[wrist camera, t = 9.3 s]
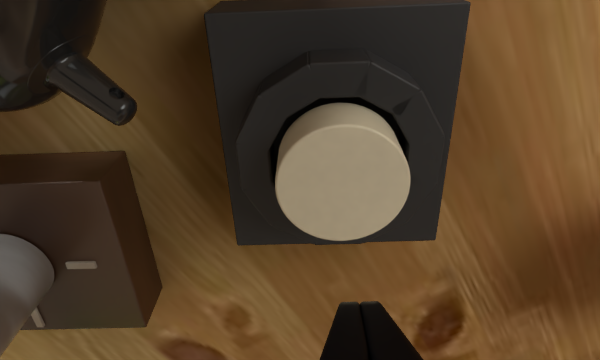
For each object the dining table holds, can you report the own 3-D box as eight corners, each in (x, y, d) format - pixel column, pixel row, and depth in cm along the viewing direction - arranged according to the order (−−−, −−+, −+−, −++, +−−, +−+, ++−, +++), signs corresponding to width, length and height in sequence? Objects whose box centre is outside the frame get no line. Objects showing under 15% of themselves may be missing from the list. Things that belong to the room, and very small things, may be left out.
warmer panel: (-19, 291, 25) (-58, 334, 23) (-95, 157, 21) (-156, 190, 18) (163, 287, 25) (145, 330, 22) (125, 150, 20) (97, 183, 18)
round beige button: (281, 210, 17) (279, 243, 15) (274, 103, 14) (269, 127, 13) (394, 207, 16) (405, 240, 15) (403, 99, 14) (417, 122, 12)
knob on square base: (245, 207, 22) (231, 273, 18) (219, 1, 17) (190, 22, 13) (419, 202, 22) (447, 267, 17) (444, -9, 17) (492, 9, 12)
